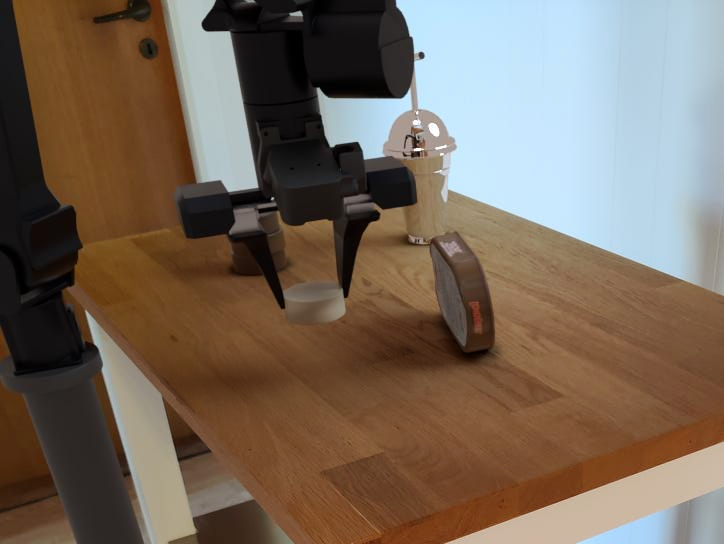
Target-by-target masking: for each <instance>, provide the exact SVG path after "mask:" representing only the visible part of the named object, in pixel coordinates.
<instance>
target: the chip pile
mask: <svg viewBox="0 0 724 544" xmlns="http://www.w3.org/2000/svg"><path fill="white" fill-rule="evenodd" d="M258 221H259V222H260V224H261V225H262V227H263V228H264V230H265V231H266V233H267V237H268V242H269V247H270V251H271V254H272V257H273V261H274V264H275V267H276V270H277V272H278V271H280V270H283V269H284V268H285V267H286V266H287V264H288V261H287V255H286V250H285V248H286V247H287V244H286V238H285V233H284V227H283V226H282V225H281V224H280V221H279V215H278V211H274V212H268V213H261V214H259V219H258ZM230 246H231V250H230V255H231V256H230V257H231V260H232V265H233V269H234V272H236V273H237V274H239V275H245V276H260V275H261V276H262V275H263V274H262V272H261V270H260V268H259V266H258V264H257V262H256V260H255V259H254V258H253V256H252V255H251V253H250V252H249V250H248V249H247V247H246V246H245V245H244V243H231V242H230Z"/></svg>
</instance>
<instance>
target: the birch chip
mask: <svg viewBox="0 0 724 544" xmlns="http://www.w3.org/2000/svg"><path fill="white" fill-rule="evenodd" d="M283 295H284V301H285V309H283V311H284V318H285V320H286V321H287V322H289V323H291V324H294V325H299V326H317V325H322V324H323V325H324V324H327V323H332V322H334V321H337V320H339V319H341V318H342V317H343V316H344V315H345V314H346V312H347V310H346V304H345V303H346V302H345V298H344V295H343V289H342V287H341V286H340V285H339V283H337V282H333V281H327V280H313V281H306V282H301V283H297V284H293V285H291V286H290V287H287V288H285V289H284V290H283Z"/></svg>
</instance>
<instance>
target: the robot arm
mask: <svg viewBox="0 0 724 544" xmlns="http://www.w3.org/2000/svg"><path fill="white" fill-rule="evenodd" d="M297 12H301V15H291V14H294V13H297ZM200 24H201V25H200V26H201V29H202V30H203V31H204V32H207V33H213V32H215V33H216V32H217V33H219V32H220V33H221V32H229V34H230V40H231V45H232V51H233V57H234V61H235V67H236V72H237V79H238V84H239V89H240V94H241V100H242V106H243V112H244V116H245V122H246V127H247V132H248V133H247V134H248V139H249V144H250V149H251V155H252V161H253V166H254V170H255V172H254V173H255V176H256V182H257V187H254V188H246V189H239V190H233V191H229V190H228V189H227V187H226V186H225V184H224V183H223V181H222V179H216V180H210V181H204V182H203V181H202V182H197V183H196V182H195V183H190V184H183V185H178V186H177V188H176V190H175V192H174V193H173V200H174V205H175V208H176V209H175V210H176V213H177V218H178V223H179V224H180V227H181V229H182V231H183V234H184V236H185V239H189V240H198V239H199V240H200V239H204V238H211V237H217V236H223V235H225V237H226V238H227V240H228V243H230V244H231V243H244V245H245V246H246V247H247V249H248V250H249V252H250V253H251V255H252V256H253V258H254V259H255V260H256V262H257V264H258V266H259V268H260V270H261V272H262V274H261V275H263V278H264V279H265V281H266V283H267V285H268V287H269V289H270V291H271V293H272V295H273V297H274V299H275V301H276V303H277V305H278V307H279V308H280V310H284V309H285V301H284V295H283V291H284V290H283V287H282V284H281V280H280V277H279V273H278V271H277V270H276V267H275V264H274V261H273V257H272V254H271V251H270V247H269V242H268V237H267V233H266V231H265V230H264V228H263V227H262V225H261V224H260V222H259V221H258V219H259V214H261V213H268V212H274V211H277V212H278V213H279V216H280V220H281V221H282V222H283V224H284V225H287V226H289V227H301V226H304V225H305V224H306V223H310V222H311V223H312V222H317V221H323V220H324V221H325V220H327V221H329V222H332V231H333V241H334V242H333V243H334V253H335V255H334V256H335V265H336V266H335V267H336V277H337V282H338V283H337V284H339V285H340V286H341V287H342V289H343V295H344V299H348V298H349V295H350V290H351V289H350V288H351V284H352V279H353V274H354V269H355V263H356V258H357V254H358V250H359V247H360V243H361V241H362V237H363V235H364V233H365V232H366V230H367V228H368V227H369V225H370V224H371V223H373V222H379V221H380V220H381V215H382V214H381V212H380V211H379V210H378V209H377V208H376V206H377V207H378V208H380V210H382V211H385V210H391V209H398V208H402V207H405V206H411V205H414V204H416V203H418V202H417V191H416V181H415V178H414V174H413V172H412V171H411V170H410V169H409V168H408V167H406V166H405V165H404V164H402V163H401V162H400V161H398V160H397V159H396V158H394V157H393V156H380V157H373V158H365V156H364V150H363V149H362V146H361V144H360V142H359V141H351V142H343V143H337V144H334V146H331V145H330V143H329V140H328V138H327V136H326V133H325V126H324V123H323V117H322V116H323V115H322V112H321V106H320V98H319V92H318V89H319V90H320V91H321V92H322V94H323V95H324V96H325V97H327V98H328V99H350V100H351V99H354V100H355V99H361V100H362V99H366V100H368V99H369V100H372V99H373V100H374V99H375V100H378V99H379V100H381V99H383V100H384V99H385V100H402V99H404V98H405V97H406V95H408V94H409V93H408V92H409V91H410V86H411V82H412V78H413V72H414V66H415V65H414V64H415V61H414V54H415V45H414V38H413V36H411V35H410V30H409V26H408V23H407V20H406V17H405V16H404V13H403V12H402V10H400V8H399V7H398V6H397V0H252V1H247V0H215V1H214V3H213V6H211V9H210V10H209V11H208V13H207V14H205V16H204V18H202V21H201V23H200ZM77 225H78V224H77V212H76V209H75V207H74V206H73V205H72V204H62V203H61V202H60V201H59V200H58V198H57V196H55V195H54V193H53V191H52V190H51V189H50V187H48V185H47V182H46V179H45V173H44V169H43V162H42V158H41V152H40V146H39V140H38V136H37V130H36V123H35V117H34V113H33V107H32V101H31V96H30V92H29V86H28V80H27V74H26V68H25V64H24V58H23V52H22V48H21V41H20V36H19V30H18V25H17V20H16V14H15V9H14V1H13V0H0V330H1V333H2V335H3V338H4V339H3V340H4V342H5V343H6V347H7V350H8V352H9V355H11V358H12V361H13V373H14V375H15V376H19V375H25V374H30V373H36V372H41V371H47V370H53V369H58V368H64V367H69V366H75V365H80V364H82V363H83V358H82V352H84V351H85V342H84V341H85V339H84V335H83V332H82V329H81V326H80V323H79V320H78V319H79V318H78V316H77V313H76V309H75V306H74V304H72V303H71V302H68V303H67V302H66V298H65V295H64V292H63V290H65V289H68V288H72V287H73V286H75V284H76V277H75V276H76V273H75V272H76V270H75V268H76V267H75V266H76V265H77V264H78V262H79V251H80V250H82V249H84V245H83V242H82V241H81V238H80V236H79V233H78V226H77Z"/></svg>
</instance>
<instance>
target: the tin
mask: <svg viewBox="0 0 724 544" xmlns="http://www.w3.org/2000/svg"><path fill="white" fill-rule="evenodd" d="M429 254H430V258H431V262H432V268H433V269H432V270H433V274H434V290H435V295H436V299H437V304H438V307H439V310H440V313H441V315H442V318H443V321H444V322H445V324H446V326H447V328H448V329H449V331H450V333H451V335H452V336H453V338H454V340H455V341H456V343H457V344H458V346H459V347H460V349H461V351H462V352H464V353H466V354H470V353H475V352H481V351H485V350H493V349H494V347H495V344H496V323H495V322H496V321H495V313H494V308H493V306H494V305H493V301H492V296H491V292H490V287H489V281H488V278H487V275H486V272H485V270H484V266H483V264H482V262H481V260H480V258H479V256H478V254H477V253H476V252H475V251H474V250H473V248H472V247H471V246H470V244H469V243H468V241H466V239H465V238H464V237H463V236H462V234H461V233H460V231H458V230H454V231H453V232H450V233H449V232H448V233H445V234H444V235H439V236H435V237H433V238H432V239H431V241H430V244H429Z"/></svg>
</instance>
